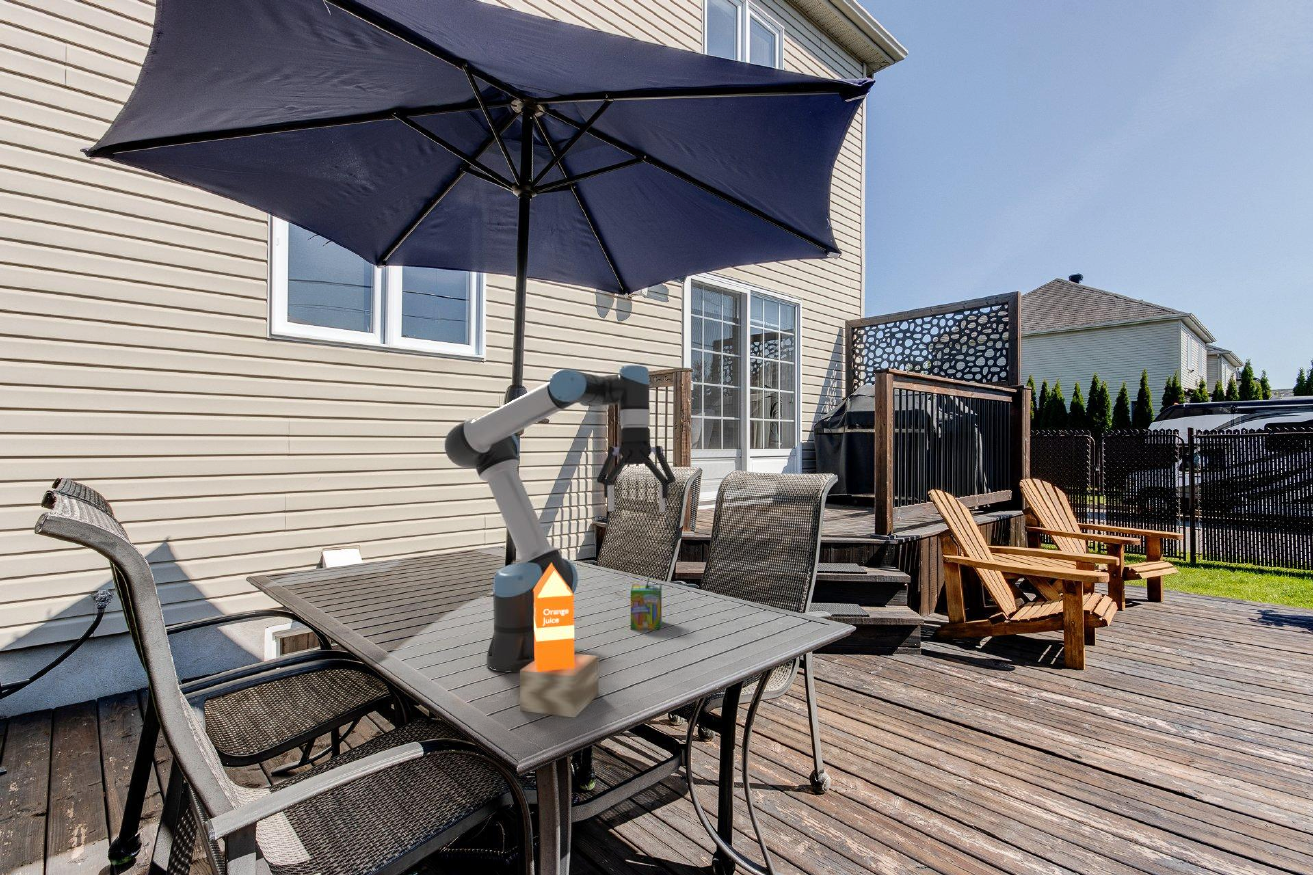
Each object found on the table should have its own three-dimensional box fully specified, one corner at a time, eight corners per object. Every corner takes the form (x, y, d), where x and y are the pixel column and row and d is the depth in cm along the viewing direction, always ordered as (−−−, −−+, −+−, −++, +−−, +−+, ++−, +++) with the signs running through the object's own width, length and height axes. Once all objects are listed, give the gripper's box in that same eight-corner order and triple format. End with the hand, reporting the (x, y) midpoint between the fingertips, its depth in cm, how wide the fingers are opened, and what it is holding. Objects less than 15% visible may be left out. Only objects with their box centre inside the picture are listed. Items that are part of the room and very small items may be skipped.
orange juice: (570, 653, 130) (569, 561, 130) (575, 667, 121) (574, 568, 122) (533, 657, 128) (532, 563, 128) (535, 671, 119) (534, 571, 120)
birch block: (520, 710, 120) (519, 670, 120) (548, 687, 131) (547, 651, 131) (574, 717, 116) (574, 675, 116) (598, 693, 128) (598, 655, 128)
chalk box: (632, 621, 183) (631, 572, 183) (662, 621, 183) (661, 572, 183) (629, 630, 174) (629, 578, 174) (661, 630, 173) (660, 578, 174)
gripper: (686, 426, 151) (687, 510, 150) (595, 428, 158) (596, 509, 158) (678, 425, 144) (680, 513, 143) (583, 427, 151) (584, 511, 151)
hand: (636, 511), depth 150 cm, fingers open, 13 cm apart
